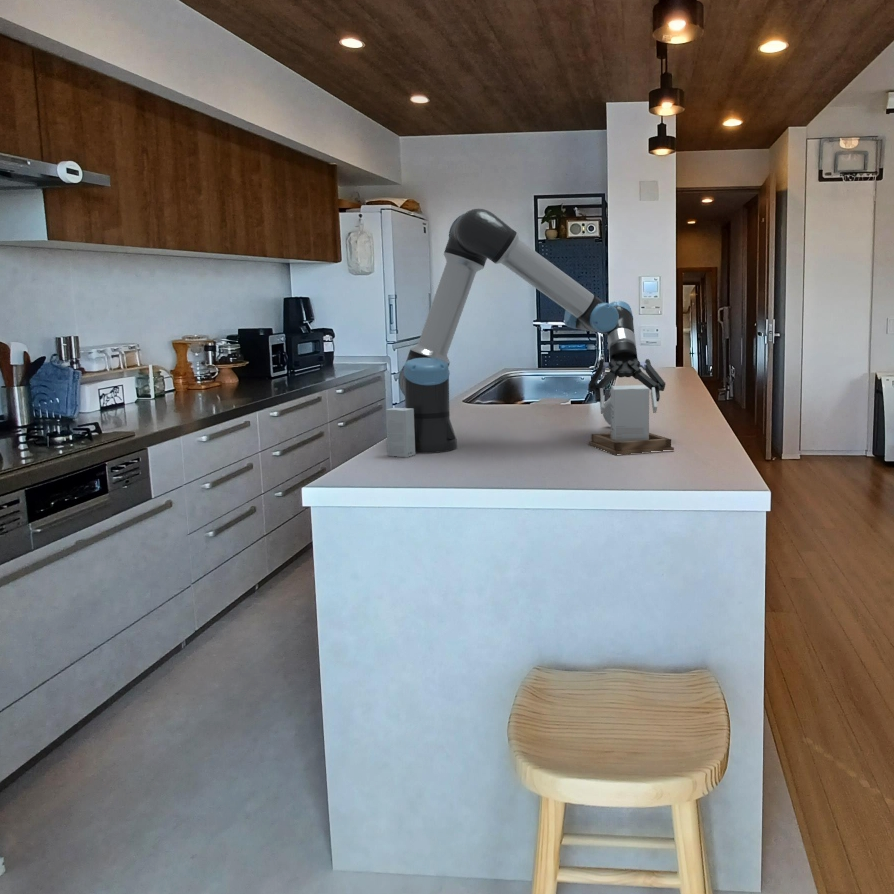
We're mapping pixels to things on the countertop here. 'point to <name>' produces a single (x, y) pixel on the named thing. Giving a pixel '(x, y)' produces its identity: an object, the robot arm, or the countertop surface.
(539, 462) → the countertop surface
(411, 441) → the skincare box
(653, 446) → the holder
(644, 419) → the supplement box
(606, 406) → the donut
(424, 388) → the robot arm
